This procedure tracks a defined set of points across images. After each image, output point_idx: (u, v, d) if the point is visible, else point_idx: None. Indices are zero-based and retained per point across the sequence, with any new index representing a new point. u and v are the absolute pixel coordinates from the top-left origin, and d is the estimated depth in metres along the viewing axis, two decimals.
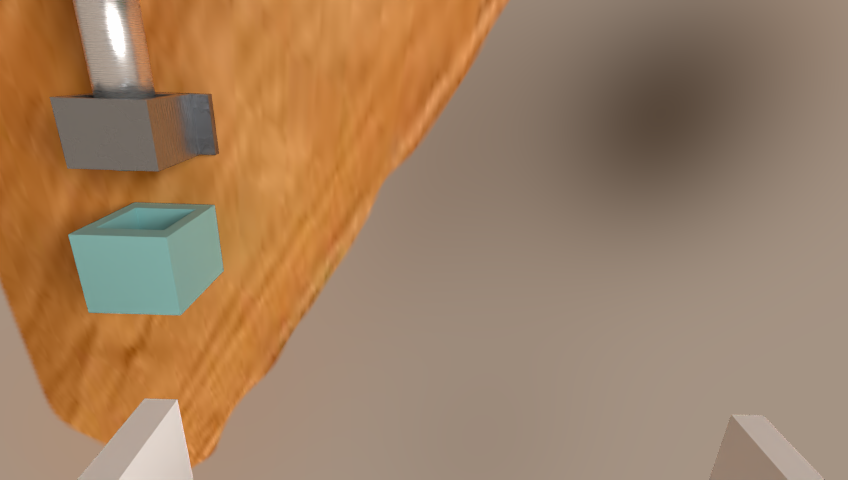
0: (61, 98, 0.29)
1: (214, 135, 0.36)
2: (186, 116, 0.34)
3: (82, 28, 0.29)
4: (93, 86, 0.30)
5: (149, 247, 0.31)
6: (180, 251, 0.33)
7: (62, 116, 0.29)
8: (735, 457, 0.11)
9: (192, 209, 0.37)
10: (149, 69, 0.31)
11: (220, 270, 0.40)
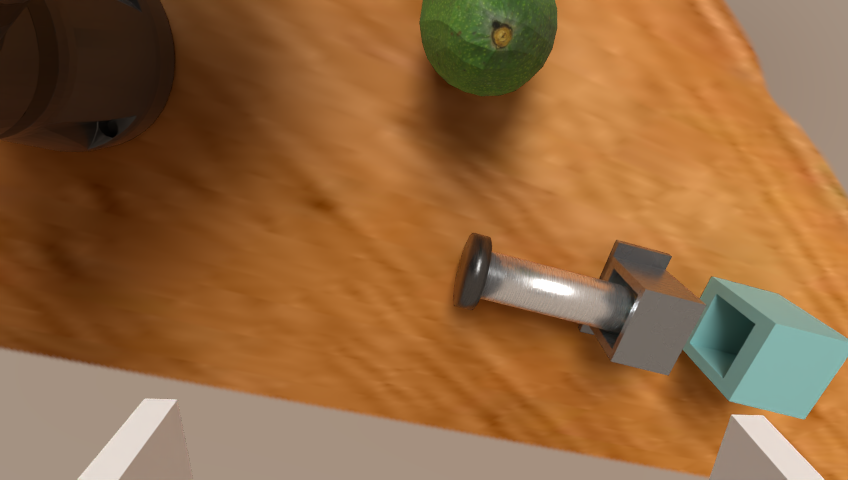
0: (615, 353, 0.33)
1: (653, 251, 0.37)
2: (636, 266, 0.36)
3: (563, 314, 0.34)
4: (606, 327, 0.34)
5: (776, 342, 0.31)
6: (782, 318, 0.32)
7: (628, 359, 0.33)
8: (735, 457, 0.11)
9: (714, 296, 0.37)
10: (598, 279, 0.35)
11: (779, 295, 0.38)
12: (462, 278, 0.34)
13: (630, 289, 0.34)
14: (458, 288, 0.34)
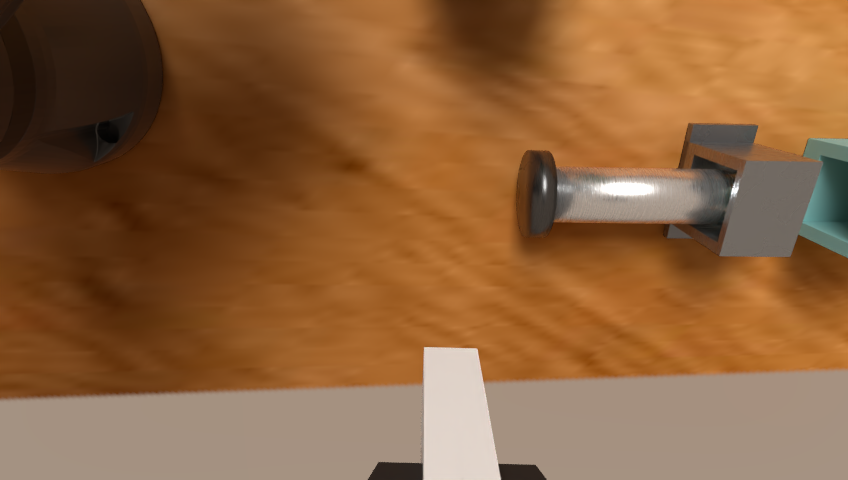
0: (723, 245, 0.28)
1: (735, 124, 0.32)
2: (721, 145, 0.31)
3: (652, 216, 0.29)
4: (704, 219, 0.29)
5: None
6: None
7: (739, 248, 0.29)
8: None
9: (818, 159, 0.32)
10: None
11: None
12: (527, 204, 0.30)
13: (722, 170, 0.29)
14: (524, 217, 0.30)
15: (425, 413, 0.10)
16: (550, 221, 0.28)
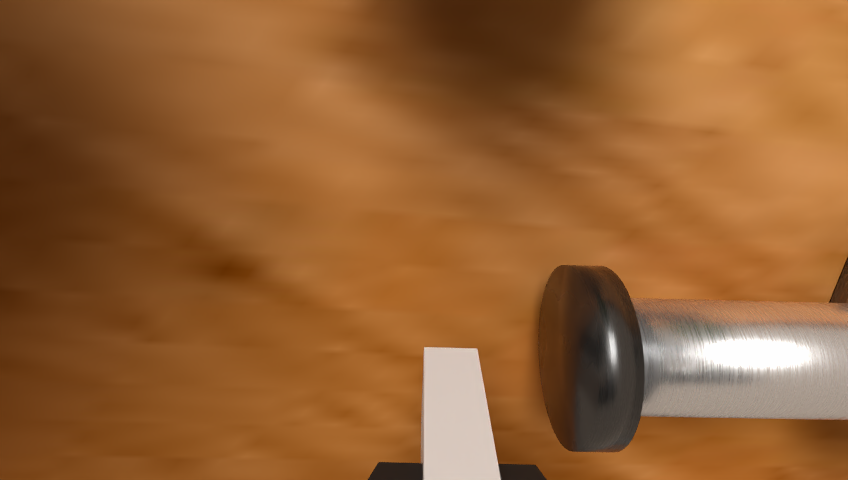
0: None
1: None
2: None
3: (832, 415, 0.14)
4: None
5: None
6: None
7: None
8: None
9: None
10: None
11: None
12: (566, 379, 0.14)
13: None
14: (559, 398, 0.15)
15: (425, 413, 0.10)
16: (623, 441, 0.12)
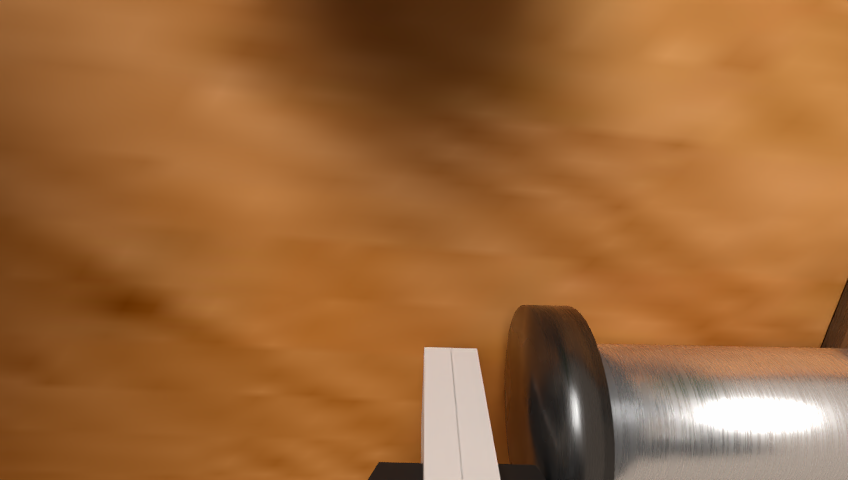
0: None
1: None
2: None
3: None
4: None
5: None
6: None
7: None
8: None
9: None
10: None
11: None
12: (527, 444, 0.12)
13: None
14: (521, 464, 0.12)
15: (425, 413, 0.10)
16: None
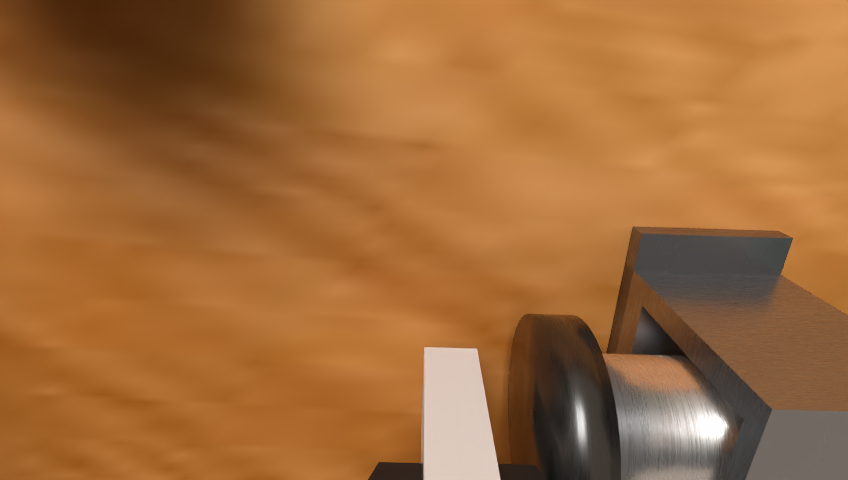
0: None
1: (739, 234, 0.14)
2: (705, 291, 0.13)
3: None
4: None
5: None
6: None
7: None
8: None
9: None
10: None
11: None
12: (531, 455, 0.12)
13: None
14: None
15: (425, 413, 0.10)
16: None
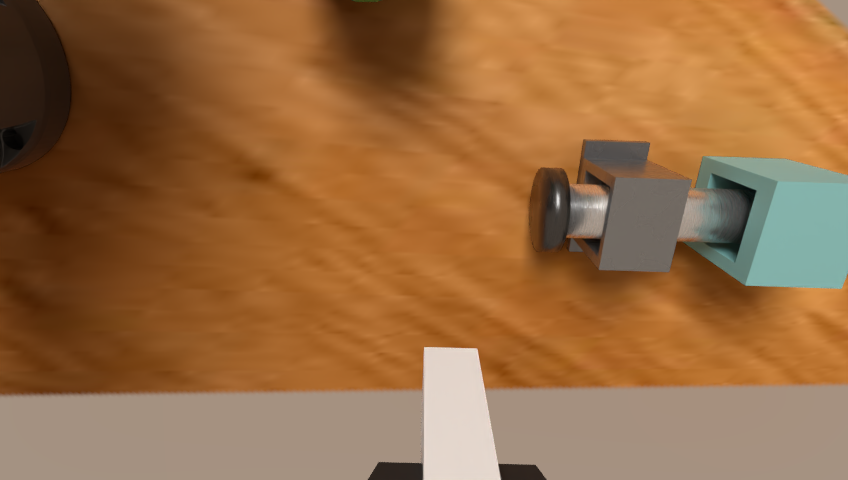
0: (601, 259, 0.29)
1: (628, 141, 0.33)
2: (610, 162, 0.32)
3: None
4: (714, 237, 0.30)
5: (784, 203, 0.27)
6: (788, 176, 0.28)
7: (618, 263, 0.29)
8: None
9: (709, 176, 0.33)
10: (692, 188, 0.31)
11: (786, 160, 0.33)
12: (540, 219, 0.30)
13: (731, 190, 0.30)
14: (537, 232, 0.31)
15: (425, 413, 0.10)
16: (563, 237, 0.29)
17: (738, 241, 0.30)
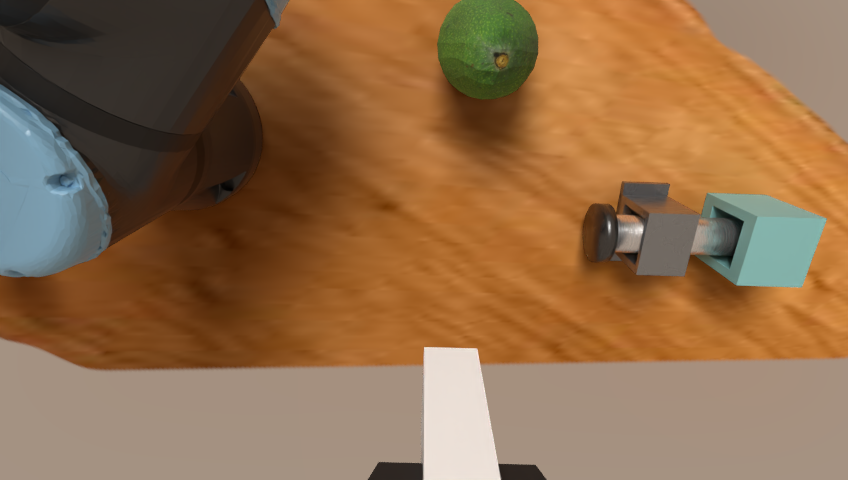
0: (638, 267, 0.42)
1: (654, 183, 0.46)
2: (642, 198, 0.45)
3: None
4: (715, 252, 0.43)
5: (762, 230, 0.40)
6: (765, 212, 0.41)
7: (649, 270, 0.43)
8: None
9: (711, 208, 0.46)
10: None
11: (766, 196, 0.46)
12: (594, 239, 0.44)
13: (727, 219, 0.44)
14: (592, 248, 0.44)
15: (425, 413, 0.10)
16: (612, 252, 0.42)
17: (732, 254, 0.44)
